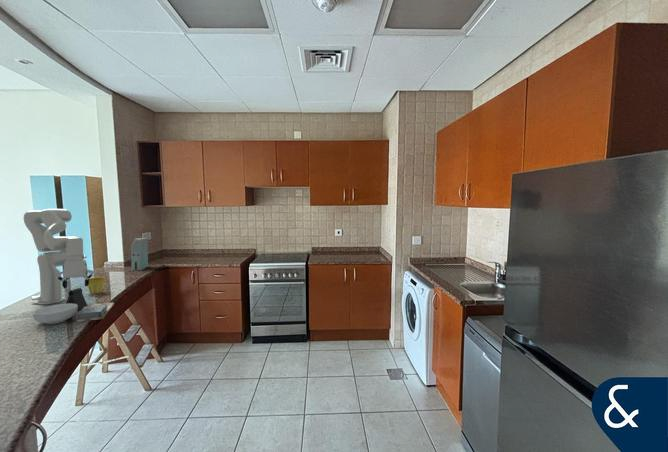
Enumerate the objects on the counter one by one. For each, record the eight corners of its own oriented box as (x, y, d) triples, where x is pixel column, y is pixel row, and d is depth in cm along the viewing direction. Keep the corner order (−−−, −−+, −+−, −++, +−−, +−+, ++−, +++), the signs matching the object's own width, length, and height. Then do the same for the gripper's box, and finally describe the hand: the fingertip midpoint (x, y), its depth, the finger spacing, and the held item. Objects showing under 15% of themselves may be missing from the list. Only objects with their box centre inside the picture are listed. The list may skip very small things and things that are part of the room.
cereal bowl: (74, 313, 162) (74, 301, 161) (80, 321, 151) (80, 308, 151) (31, 321, 148) (31, 308, 148) (34, 330, 138) (34, 316, 138)
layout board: (76, 321, 150) (76, 319, 149) (91, 306, 173) (91, 304, 173) (102, 318, 155) (102, 316, 154) (114, 304, 178) (114, 302, 178)
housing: (77, 319, 149) (77, 313, 149) (84, 312, 160) (84, 306, 159) (101, 316, 153) (101, 311, 153) (106, 309, 164) (106, 304, 164)
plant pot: (101, 289, 207) (101, 276, 207) (108, 292, 202) (107, 278, 201) (83, 292, 198) (83, 279, 198) (89, 295, 193) (89, 281, 193)
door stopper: (63, 310, 164) (62, 290, 164) (72, 307, 170) (71, 287, 170) (79, 311, 165) (79, 290, 164) (87, 307, 171) (87, 288, 170)
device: (139, 266, 287) (139, 237, 286) (148, 266, 289) (147, 237, 287) (131, 270, 271) (131, 239, 269) (140, 270, 273) (140, 239, 271)
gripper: (95, 256, 173) (96, 283, 174) (58, 258, 165) (59, 287, 166) (91, 258, 167) (92, 286, 167) (52, 260, 159) (53, 290, 159)
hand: (76, 286), depth 167 cm, fingers open, 9 cm apart
